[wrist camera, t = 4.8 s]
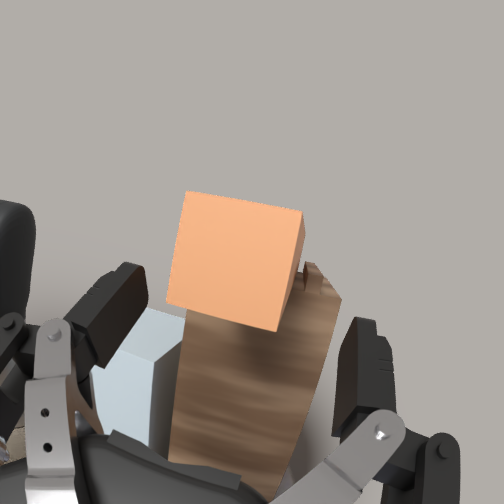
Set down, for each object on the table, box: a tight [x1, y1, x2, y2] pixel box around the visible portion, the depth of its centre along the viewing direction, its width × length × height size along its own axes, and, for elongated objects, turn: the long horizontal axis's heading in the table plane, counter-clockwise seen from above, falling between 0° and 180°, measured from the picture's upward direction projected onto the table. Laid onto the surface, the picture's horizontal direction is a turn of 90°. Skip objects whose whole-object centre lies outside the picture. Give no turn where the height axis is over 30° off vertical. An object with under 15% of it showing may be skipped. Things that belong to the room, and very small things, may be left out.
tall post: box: [168, 262, 342, 503], centre depth 27 cm, size 12×10×33 cm
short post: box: [91, 307, 185, 460], centre depth 29 cm, size 12×10×24 cm
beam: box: [166, 191, 305, 332], centre depth 22 cm, size 24×4×4 cm, turn 169°
